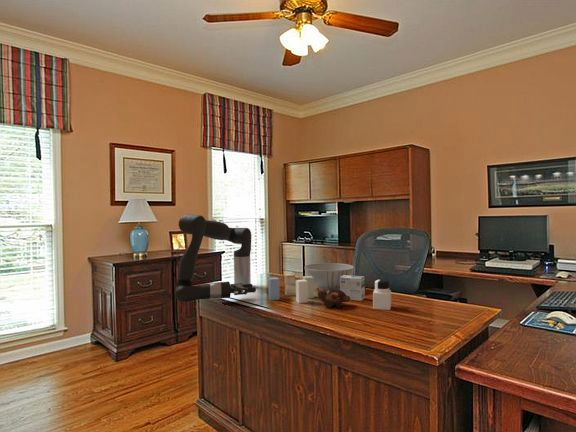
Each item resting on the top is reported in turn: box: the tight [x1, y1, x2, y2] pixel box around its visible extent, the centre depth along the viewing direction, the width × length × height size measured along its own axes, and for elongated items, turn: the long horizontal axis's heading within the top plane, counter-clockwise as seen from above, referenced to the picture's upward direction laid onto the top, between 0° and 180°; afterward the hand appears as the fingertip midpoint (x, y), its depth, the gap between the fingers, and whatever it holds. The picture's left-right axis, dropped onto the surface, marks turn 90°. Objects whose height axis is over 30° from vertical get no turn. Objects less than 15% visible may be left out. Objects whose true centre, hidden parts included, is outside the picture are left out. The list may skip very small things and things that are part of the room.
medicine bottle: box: [372, 279, 392, 311], centre depth 162 cm, size 7×7×12 cm
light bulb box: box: [340, 275, 366, 302], centre depth 179 cm, size 11×7×11 cm, turn 65°
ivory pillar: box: [295, 279, 309, 304], centre depth 174 cm, size 4×4×10 cm
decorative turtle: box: [316, 289, 351, 309], centre depth 165 cm, size 10×15×8 cm, turn 108°
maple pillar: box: [284, 273, 296, 297], centre depth 189 cm, size 4×4×10 cm
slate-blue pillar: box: [267, 276, 280, 301], centre depth 180 cm, size 4×4×10 cm
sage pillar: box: [302, 275, 315, 299], centre depth 183 cm, size 4×4×10 cm
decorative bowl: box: [304, 262, 355, 291], centre depth 201 cm, size 27×27×12 cm
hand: (253, 287), depth 178 cm, fingers open, 8 cm apart
